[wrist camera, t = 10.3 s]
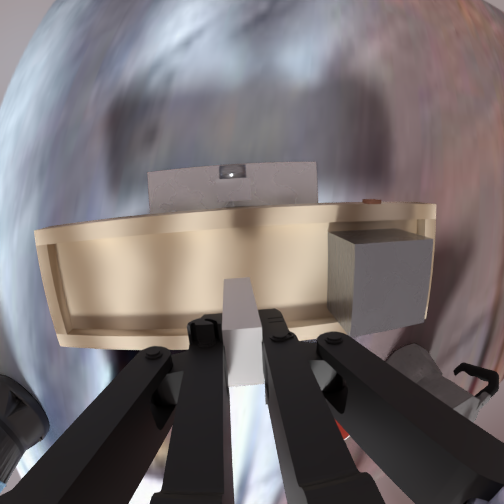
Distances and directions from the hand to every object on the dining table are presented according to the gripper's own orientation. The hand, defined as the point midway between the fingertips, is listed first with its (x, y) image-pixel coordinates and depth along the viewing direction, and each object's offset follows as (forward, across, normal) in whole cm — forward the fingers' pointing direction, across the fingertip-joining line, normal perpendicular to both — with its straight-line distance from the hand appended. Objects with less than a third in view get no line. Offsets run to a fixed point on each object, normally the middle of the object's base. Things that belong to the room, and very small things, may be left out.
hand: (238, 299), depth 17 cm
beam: (+6, 0, 0) cm, 6 cm away
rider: (+4, +10, 0) cm, 11 cm away
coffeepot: (+16, +25, -20) cm, 36 cm away
